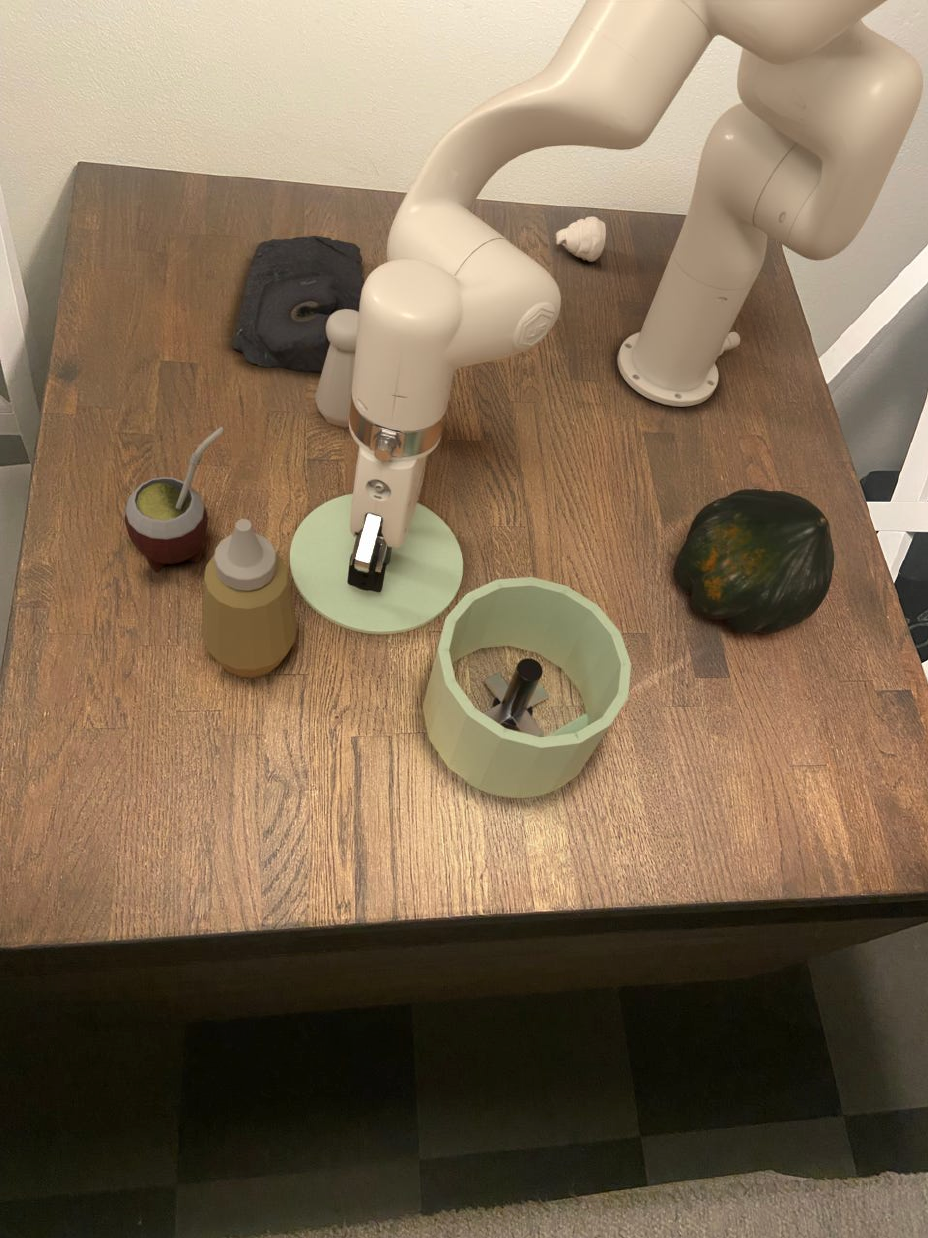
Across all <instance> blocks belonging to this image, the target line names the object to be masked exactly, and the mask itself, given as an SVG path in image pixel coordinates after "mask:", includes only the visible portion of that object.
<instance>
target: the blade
mask: <svg viewBox="0 0 928 1238" xmlns="http://www.w3.org/2000/svg"><path fill="white" fill-rule="evenodd" d="M543 671H544V670H543V666H542V664H541V663H540V662H539V661H537V660H536V659H534V658H531V657H526V658H523V659H520V660H519V661H518V663H517V665H516V666H515V670H514V672H513V674H512V677H511V678H510V681H509V683H507V681H506V680H505V679H504V677H503V676H502V675H501V673H500V672H496V673H493V674H492V675H490V676H489V677H487V678H484V680H483V683H484V685H486V687H487V688H488V690H489V692H491V694H492V695H493V696H494V699H493V702H492V705H491V707H490V708H489V709H488V710H485V711H484V712H482V713H483V714H485V715H486V716H488V717H489V718H491V719H492V720H494V721H495V722H497V723H498V724H500V725H501V726H503V727H504V728H506V729H510V730H514V731H518V732H522V733H526V734H530V735H534V736H538V737H542V736H543V735H544V732H543V730H542V729H541V728H540V726H539V724H538V723H537V722H536V720H535V719H534V718H533V717H532V716H533V710H534V709H533V707H535V706H537V705H538V704H541V703H542V702H544V701H546V700H547V699H549V698H550V695H549V694H548V691H546V689H545V688H544V686H543V685H542V684H541V683H540V680H541V678H542V676H543V673H544V672H543Z"/></svg>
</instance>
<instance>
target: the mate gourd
mask: <svg viewBox="0 0 928 1238" xmlns="http://www.w3.org/2000/svg"><path fill="white" fill-rule="evenodd" d="M224 431H225V430H224V428H223V426H222V425H221V426H219V428H217V429H215V430H214V432H213V433H211V434H210V435H209V436H207V438H205V439H204V440H203V441H202V442H201V443H200V445H199V446H198V447H196V449H195V451H193V452H192V454H191V456H190V458H189V466H188V469H187V473H186V475H185V478H184V481H182V480H180V479H178V478H175V477H165V476H161V477H156V478H150V479H148V480H147V481H145V482H143V483H141V484H140V485H138V486H137V487H136V489H135V490H134V491H133V492H132V493H131V494H130V496H129V497H128V499H127V503H126V506H125V515H124V524H125V528H126V531H127V534H128V537H129V539H130V542H131V543H132V545H133V546H135V547H136V548H137V550H138V551H139V552H140V554H142V555H143V556H144V557H145V558H146V559H147V560H146V561H147V563H148V564H149V566H150V567H151V568H152V570H153V572H154V573H156V574H157V573H159V572H160V571H161V570H162V569H163V567H164V566H166V564H167V565H168V564H170V565H173V564H178V563H182V562H185V561H186V560H187V561H188V562H192V563H195V564H200V562H201V558H202V556H203V553H204V550H205V549H204V547H205V541H206V537H207V530H208V525H209V524H208V523H209V517H208V511H207V509H206V506H205V504H204V501H203V499H202V496H201V494H200V493H199V492H198V491H196V489H194V488H193V486H192V485H191V484H192V481H193V478H194V476H195V473H196V469H197V466H199V465H200V462H201V461H202V457H203V456H202V455H203V453H204V452H205V451H206V450H207V448H208V447H209V446H210V445H211V444H212V443H213V442H214V441H215V440H216V439H218V438H219V436H220V435H222V433H224Z"/></svg>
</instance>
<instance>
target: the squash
mask: <svg viewBox="0 0 928 1238" xmlns="http://www.w3.org/2000/svg"><path fill="white" fill-rule="evenodd" d="M834 566H835V550H834V544H833V539H832V535H831V524H830V522H829V519H827V516H825V514H824V513H823V511H822V510H821V509H820V508H819V507H817V506H816V504H814V503H812V502H811V501H810V500H808V499H806V498H805V497H802V496H800V495H797V494H794V493H791V492H788V491H786V490H785V491H783V490H766V489H762V488H750V489H749V488H744V489H739V490H737V491H733V492H732V493H730V494H728V495H727V496H723V497H720V498H718V499H716V500H714V501H712V502H710V503H708V504H706V505H705V506H703V507H702V508H701V509H700V510H699V511H698V512H697V514H696V515H695V517H694V519H693V520H692V521H691V524H690V527H689V530H688V533H687V535H686V539H685V541H684V542H683V545H682V546H681V548H680V550H679V552H678V554H677V557H676V559H675V562H674V565H673V569H672V571H673V573H672V574H673V578H674V580H675V583H676V584H677V585H678V587H679V588H680V589H681V590H683V592H685V593H687V594H688V595H691V596H690V597H691V598H690V603H691V607H692V610H693V611H694V612H695V613H697V614H698V615H699V616H700V617H702V618H704V619H707V620H723V622H724V623H725V625H726V626H727V627H728V628H729V629H730V630H731V631H732V632H733V631H734V632H735V633H738V634H753V633H757V632H758V633H761V634H774V633H779V632H781V631H784V630H786V629H789V628H790V627H792V626H795V625H799V624H801V623H802V622H804V621H806V620H807V619H809V618H811V616H813V614H815V612H816V611H817V610H818V609H819V607H820V606H821V605H822V603H823V602H824V600H825V598H826V597H827V594H828V592H829V590H830V587H831V583H832V578H833V570H834Z"/></svg>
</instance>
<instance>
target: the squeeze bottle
mask: <svg viewBox="0 0 928 1238" xmlns="http://www.w3.org/2000/svg"><path fill="white" fill-rule="evenodd" d="M202 593H203V595H202V610H201V612H202V613H201V630H200V631H201V632H200V635H201V638H202V641H203V644H204V647H205V649H206V651H207V652H208V653H209V654H210V655H211V656H212V657H213V658H214V659H215V660H216V662H218V664H220V665H221V666H222V668H224V669H225V670H226V671H227V672H228V673H230V674H233V675H235V676H237V677H239V678H240V677H241V678H258V677H261V676H264V675H268V674H269V673H271V672H272V671H274V670H275V669H277V667H279V665H280V664H281V663H282V661H283V660H284V659H285V658H286V656H287V655H288V653H289V651H290V650H291V648H292V647H293V645H294V644H295V642H296V640H297V639H296V637H297V626H298V625H297V618H296V612H295V606H294V599H293V594H292V593H293V592H292V587H291V582H290V576H289V570H288V568H287V566H286V564H285V561H284V559H283V558H282V556H280V555H279V554H278V553H277V552H276V549H275V547H274V544H273V543H271V541H270V540H269V539H267V538H266V537H265V536H263V535H261V534H258V533H256V532H255V530H254V527H253V523H252V522H251V521H250V519H246V518H241V519H238V520H237V521H236V522H235V525H234V528H233V532H232V534H229V535H228V536H226V537H224V538H223V539H221V540H220V542H219V543H218V545H217V546H216V547H215V549H214V554H213V555H212V556H211V558H210V559H209V561H208V562H207V564H205V571H204V576H203V592H202Z"/></svg>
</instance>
